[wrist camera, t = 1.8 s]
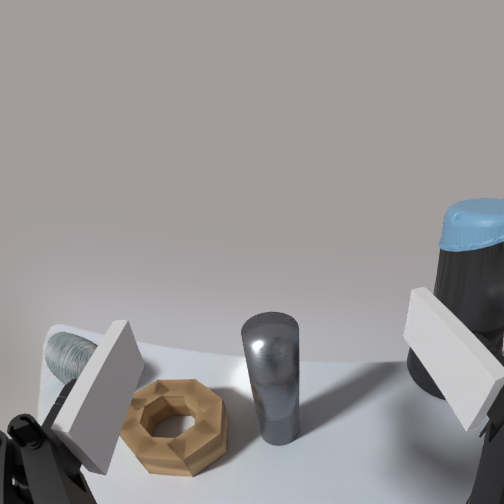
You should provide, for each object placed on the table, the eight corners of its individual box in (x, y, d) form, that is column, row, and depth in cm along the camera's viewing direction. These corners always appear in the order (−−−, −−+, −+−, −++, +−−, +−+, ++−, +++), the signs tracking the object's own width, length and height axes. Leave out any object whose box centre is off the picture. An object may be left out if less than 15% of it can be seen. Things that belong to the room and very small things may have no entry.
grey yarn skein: (33, 367, 35) (36, 315, 35) (76, 361, 44) (83, 314, 44) (74, 423, 30) (78, 367, 29) (122, 407, 38) (132, 357, 38)
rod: (296, 412, 31) (294, 308, 24) (301, 442, 27) (303, 345, 20) (259, 416, 31) (241, 315, 24) (261, 447, 27) (241, 352, 20)
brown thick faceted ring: (229, 398, 35) (224, 377, 34) (226, 477, 24) (219, 461, 22) (143, 399, 35) (133, 379, 34) (121, 469, 24) (106, 452, 22)
